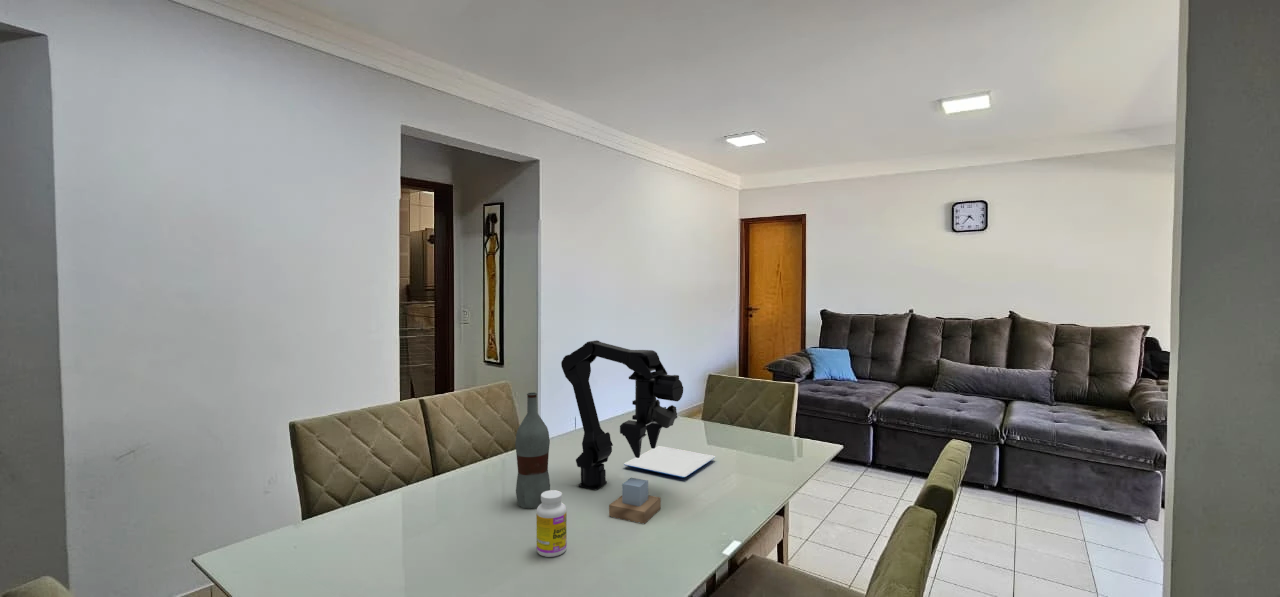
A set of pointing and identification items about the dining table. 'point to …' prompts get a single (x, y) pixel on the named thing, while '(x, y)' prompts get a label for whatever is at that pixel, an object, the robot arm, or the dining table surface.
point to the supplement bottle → (551, 524)
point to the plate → (670, 461)
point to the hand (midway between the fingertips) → (645, 452)
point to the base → (635, 509)
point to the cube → (635, 491)
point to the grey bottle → (532, 457)
